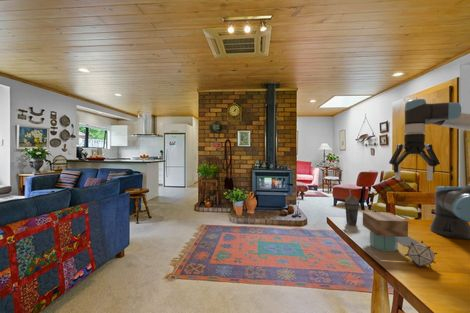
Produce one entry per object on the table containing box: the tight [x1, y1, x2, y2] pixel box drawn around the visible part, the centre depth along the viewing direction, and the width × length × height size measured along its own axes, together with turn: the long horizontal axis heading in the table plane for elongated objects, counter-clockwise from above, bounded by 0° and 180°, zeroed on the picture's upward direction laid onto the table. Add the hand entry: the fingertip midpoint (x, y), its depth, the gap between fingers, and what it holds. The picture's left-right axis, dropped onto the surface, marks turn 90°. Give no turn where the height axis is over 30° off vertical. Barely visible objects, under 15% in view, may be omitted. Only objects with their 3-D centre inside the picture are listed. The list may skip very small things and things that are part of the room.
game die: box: [404, 240, 438, 269], centre depth 81 cm, size 9×8×10 cm
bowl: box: [369, 230, 399, 252], centre depth 96 cm, size 9×9×7 cm
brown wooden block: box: [362, 211, 409, 237], centre depth 96 cm, size 11×13×6 cm
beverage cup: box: [344, 188, 360, 227], centre depth 126 cm, size 7×7×20 cm
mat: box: [398, 235, 420, 248], centre depth 104 cm, size 9×15×1 cm, turn 174°
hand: (413, 180), depth 107 cm, fingers open, 13 cm apart
